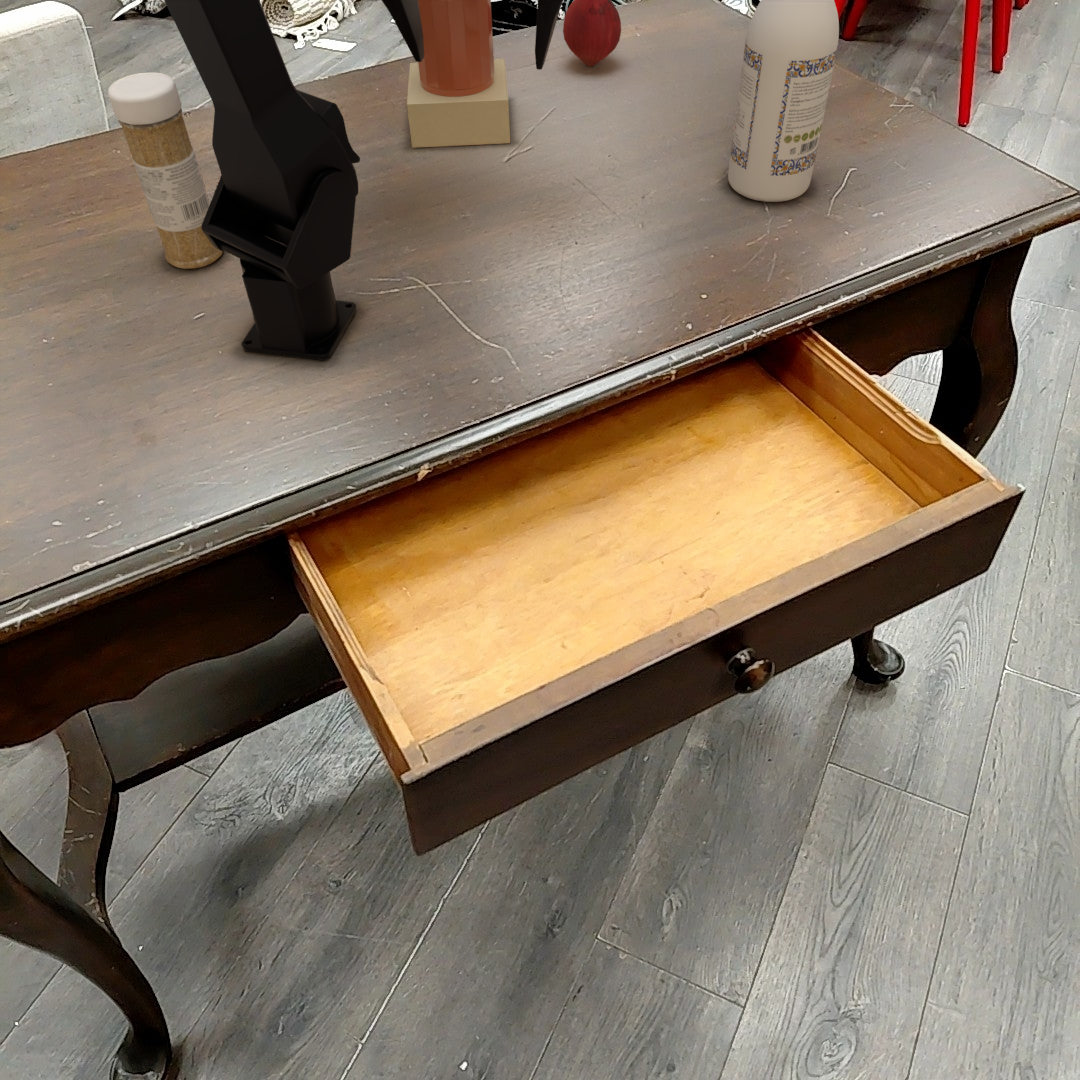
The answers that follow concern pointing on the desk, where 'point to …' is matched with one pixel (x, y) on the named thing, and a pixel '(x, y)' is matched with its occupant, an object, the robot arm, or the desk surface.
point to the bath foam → (782, 97)
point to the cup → (456, 47)
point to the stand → (459, 114)
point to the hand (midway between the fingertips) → (479, 63)
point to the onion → (592, 29)
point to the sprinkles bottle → (165, 165)
